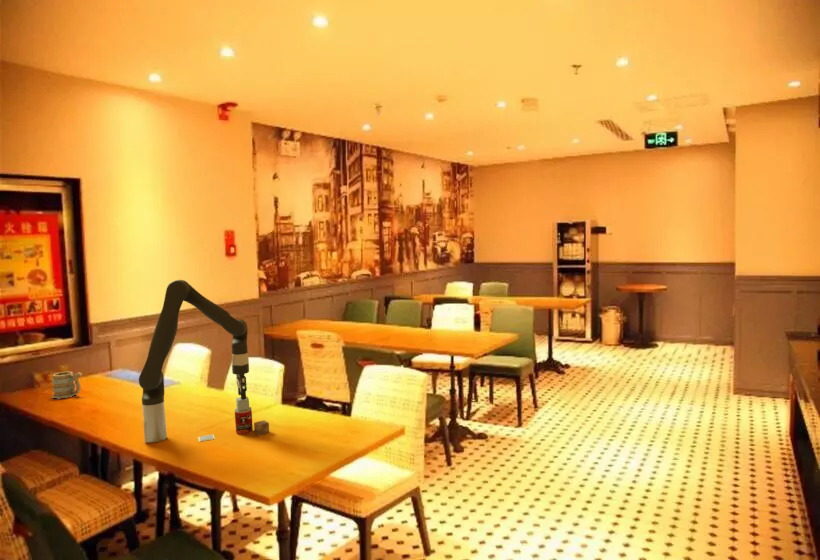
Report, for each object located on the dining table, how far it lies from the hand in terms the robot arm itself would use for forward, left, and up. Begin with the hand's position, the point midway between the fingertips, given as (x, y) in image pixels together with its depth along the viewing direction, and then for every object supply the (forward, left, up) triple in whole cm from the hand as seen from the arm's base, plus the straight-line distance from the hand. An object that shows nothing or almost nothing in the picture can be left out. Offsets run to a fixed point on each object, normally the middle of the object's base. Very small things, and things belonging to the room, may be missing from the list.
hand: (242, 397), depth 273 cm
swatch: (-17, 0, -17) cm, 24 cm away
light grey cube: (0, 0, -6) cm, 6 cm away
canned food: (0, 0, -17) cm, 17 cm away
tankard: (-84, +123, -17) cm, 150 cm away
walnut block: (+7, -6, -17) cm, 19 cm away
